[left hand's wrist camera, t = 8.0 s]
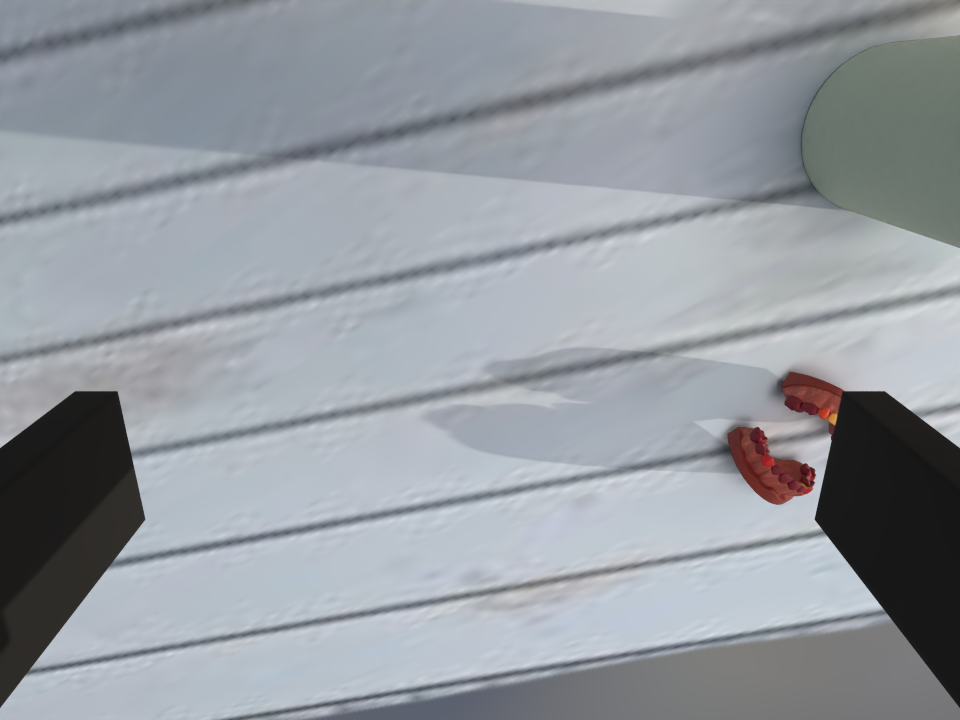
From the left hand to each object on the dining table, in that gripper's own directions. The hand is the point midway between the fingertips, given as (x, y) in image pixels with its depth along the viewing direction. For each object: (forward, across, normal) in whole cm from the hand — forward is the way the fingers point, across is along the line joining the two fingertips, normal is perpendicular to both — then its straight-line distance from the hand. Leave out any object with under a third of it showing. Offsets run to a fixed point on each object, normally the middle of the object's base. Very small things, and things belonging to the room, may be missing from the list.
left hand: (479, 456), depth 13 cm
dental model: (+28, +20, -14) cm, 37 cm away
